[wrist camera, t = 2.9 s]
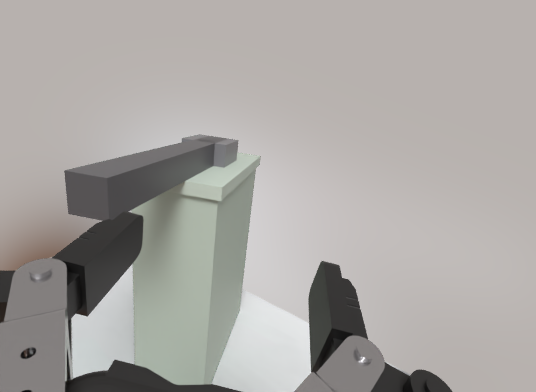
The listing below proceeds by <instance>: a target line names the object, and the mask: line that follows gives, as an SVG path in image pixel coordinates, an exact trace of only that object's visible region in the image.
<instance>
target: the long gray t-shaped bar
mask: <svg viewBox="0 0 536 392" xmlns="http://www.w3.org/2000/svg"><path fill="white" fill-rule="evenodd" d="M237 149H238V140H233V139H226V138H219V137H213V136H206V135H195V136H191V137H186V138H182V143H178V144H174V145H169V146H165V147H161V148H157V149H153V150H149V151H144V152H140V153H136V154H132V155H128V156H124V157H119V158H115V159H111V160H107V161H103V162H99V163H95V164H90V165H86V166H82V167H78V168H73V169H69V170H65V171H64V172H65V182H66V192H67V203H68V212H69V214H72V215H77V216H82V217H87V218H92V219H97V220H102V221H105V220H107V219H111V220H113V219H115V218H116V217H117V216H118V215H119V214H121V213H122V212H124V211H126V212H128V211H130V210H132V209H134V208H136V207H138V206H140V205H142V204H143V203H145V202H147V201H149V200H151V199H153V198H155V197H156V196H158V195H160V194H162V193H164V192H166V191H168V190H170V189H171V188H173V187H175V186H177V185H179V184H181V183H183V182H184V181H186V180H188V179H190V178H192V177H194V176H196V175H197V174H199V173H201V172H203V171H205V170H207V169H209V168H211V167H212V166H216V167H223V168H225V167H226V166H228V165H230V164H231V163H233V162H234V161H236V160H237Z"/></svg>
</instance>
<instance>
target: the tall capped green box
mask: <svg viewBox="0 0 536 392" xmlns="http://www.w3.org/2000/svg"><path fill="white" fill-rule="evenodd" d="M260 157H261V156H256V155H250V154H243V153H237V160H236V161H234V162H233V163H231V164H230V165H228V166H226V167H225V168H223V167H216V166H212V167H211V168H209V169H207V170H205V171H203V172H201V173H199V174H197V175H196V176H194V177H192V178H190V179H188V180H186V181H184V182H183V183H181V184H179V185H177V186H175V187H173V188H171V189H170V190H168V191H166V192H164V193H162V194H160V195H158V196H156V197H155V198H153V199H151V200H149V201H147V202H145V203H143V204H142V205H140V206H138V207H136V208H134V209H132V213H134V214H138V215H142V216H143V219H144V222H143V241H142V248H141V251H140V254H139V256H138V257H137V259H136V260H135V261H134V262H133V301H134V346H135V365H138V366H142V367H146V368H148V369H150V370H151V371H153V372H155V373H156V374H158V375H160V376H161V377H163V378H165V379H166V380H168V381H170V382H171V383H173V384H176V385H203V384H211V382H212V380H213V377H214V375H215V372H216V370H217V367H218V364H219V362H220V359H221V357H222V354H223V352H224V349H225V346H226V344H227V341H228V339H229V336H230V334H231V331H232V328H233V326H234V323H235V321H236V318H237V316H238V313H239V310H240V301H241V293H242V283H243V275H244V267H245V258H246V249H247V240H248V232H249V223H250V214H251V206H252V197H253V188H254V180H255V171H256V168H257V167H258V166H259V165H260Z"/></svg>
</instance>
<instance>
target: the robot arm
mask: <svg viewBox="0 0 536 392" xmlns="http://www.w3.org/2000/svg"><path fill="white" fill-rule="evenodd" d="M143 222H144V219H143V216H142V215H138V214H134V213H130V212H126V211H124V212H122V213H121V214H119V215H118V216H117V217H116V218H115V219H113V220H111V219H107V220H105V221H102V222H99V223H97V224H95V225H94V226H93V227H91V228H90V229H89V230H87V232H85V233H83V234H82V235H81V236H80V237H79V238H77V239H76V240H74V241H73V242H72V243H70V244H69V245H68V246H67V247H65V248H64V249H63V250H61V251H60V252H59V253H57V254H56V255H55V256H54V257H52V258H46V259H38V260H35V261H31V262H29V263H26V264H25V265H23V266H21V267H20V268H18V269H17V270H16V271H0V392H241V391H237V390H233V389H229V388H225V387H221V386H217V385H213V384H203V385H176V384H173V383H171V382H170V381H168V380H166V379H165V378H163V377H161V376H160V375H158V374H156V373H155V372H153V371H151V370H150V369H148V368H146V367H142V366H138V365H134V364H130V363H126V362H122V361H118V360H114V362H113V363H112V365H111V367H110V368H109V370H108V371H98V372H92V373H88V374H84V375H82V376H79V377H76V378H74V379H73V368H72V321H71V318H72V317H73V316H74V315H75V313H76V314H80V315H84V316H88V315H89V314H90V313H91V312H92V310H93V309H94V308H95V307H96V306H97V305H98V303H99V302H100V301H101V300H102V299H103V297H104V296H105V295H106V294H107V293H108V292H109V290H110V289H111V288H112V287H113V286H114V285H115V283H116V282H117V281H118V280H119V279H120V277H121V276H122V275H123V274H124V273H125V272H126V270H127V269H128V268H129V267H130V266H131V265H132V263H133V262H134V261H135V260H136V259H137V257H138V256H139V254H140V251H141V248H142V241H143ZM309 327H310V353H311V372H312V373H311V374H310V375H309V376H308V377H307V378H306V379H305V380H304V381H303V382H302V384H301V385H300V386H299V387H298V388H297V389H296V390H295V391H294V392H452V391H451V389H450V388H449V387H448V386H447V384H446V383H445V382H444V381H442V380H441V379H440V378H439V377H437V376H436V375H434V374H433V373H431V372H428V371H426V370H416V371H414V372H413V373H412V374H411V375H410V376H408V375H407V374H405V373H403V372H401V371H399V370H397V369H396V368H394V367H392V366H390V365H389V364H387V363H386V362H385V361H384V358H383V355H382V354H381V352H380V350H379V349H378V348H377V347H376V346H375V345H374V344H373V343H372V342H371V341H369V340H368V337H367V334H366V329H365V325H364V321H363V317H362V313H361V310H360V306H359V302H358V297H357V294H356V289H355V288H354V287H353V285H352V284H351V282H350V281H349V280H348V279H344V278H342V276H341V271H340V266H339V265H336V264H332V263H328V262H324V261H322V262H321V263H320V265H319V268H318V270H317V273H316V276H315V278H314V281H313V283H312V286H311V289H310V293H309Z"/></svg>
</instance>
